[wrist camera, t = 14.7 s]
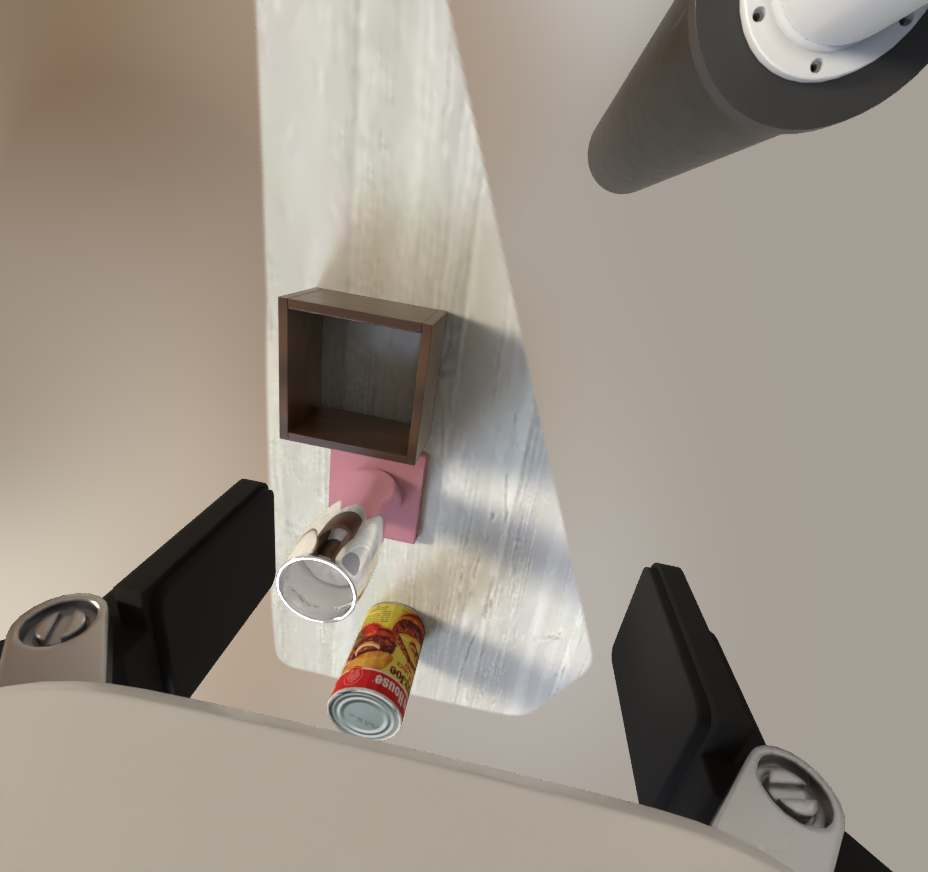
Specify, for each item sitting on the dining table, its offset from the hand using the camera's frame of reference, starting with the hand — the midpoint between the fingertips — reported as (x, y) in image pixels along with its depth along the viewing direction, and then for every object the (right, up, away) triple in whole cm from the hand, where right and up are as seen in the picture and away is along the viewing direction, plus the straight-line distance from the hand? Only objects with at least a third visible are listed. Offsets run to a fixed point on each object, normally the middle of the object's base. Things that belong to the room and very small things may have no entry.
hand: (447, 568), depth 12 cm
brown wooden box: (-8, +10, +33) cm, 36 cm away
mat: (-9, -2, +39) cm, 40 cm away
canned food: (-8, -20, +47) cm, 52 cm away
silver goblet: (-9, -3, +38) cm, 39 cm away
